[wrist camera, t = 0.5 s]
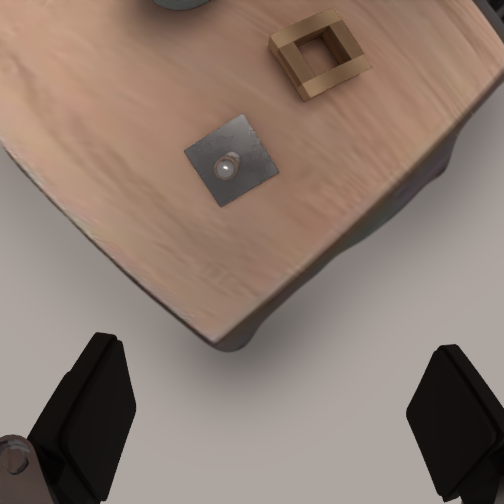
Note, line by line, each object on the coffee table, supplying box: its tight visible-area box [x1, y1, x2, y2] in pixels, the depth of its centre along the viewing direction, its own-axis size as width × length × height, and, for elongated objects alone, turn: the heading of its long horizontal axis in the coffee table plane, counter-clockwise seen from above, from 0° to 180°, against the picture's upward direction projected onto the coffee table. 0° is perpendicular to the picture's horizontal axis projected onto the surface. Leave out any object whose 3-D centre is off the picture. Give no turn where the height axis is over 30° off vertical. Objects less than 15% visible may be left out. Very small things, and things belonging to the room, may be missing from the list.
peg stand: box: [184, 114, 279, 207], centre depth 28 cm, size 7×7×9 cm
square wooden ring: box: [268, 8, 373, 101], centre depth 26 cm, size 7×7×4 cm
